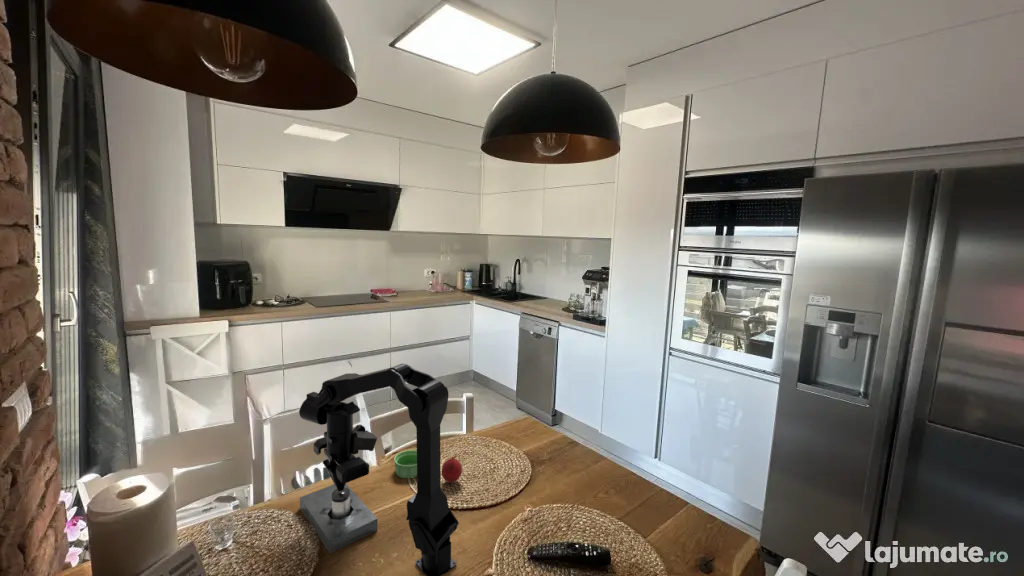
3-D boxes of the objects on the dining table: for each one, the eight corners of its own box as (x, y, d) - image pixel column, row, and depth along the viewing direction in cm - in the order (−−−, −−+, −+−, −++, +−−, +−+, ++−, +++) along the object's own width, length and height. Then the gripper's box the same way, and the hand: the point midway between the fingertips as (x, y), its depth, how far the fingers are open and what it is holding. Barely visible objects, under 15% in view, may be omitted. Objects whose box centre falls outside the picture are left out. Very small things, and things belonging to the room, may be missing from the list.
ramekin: (416, 460, 128) (416, 446, 127) (430, 473, 121) (430, 459, 120) (389, 469, 122) (389, 455, 121) (401, 483, 115) (401, 469, 115)
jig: (377, 530, 96) (377, 518, 96) (330, 553, 89) (329, 541, 88) (343, 490, 110) (343, 480, 110) (300, 508, 103) (299, 497, 102)
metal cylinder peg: (352, 523, 98) (352, 493, 97) (335, 531, 95) (335, 500, 94) (345, 515, 101) (345, 485, 100) (329, 522, 98) (329, 492, 97)
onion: (457, 490, 113) (458, 463, 112) (438, 487, 114) (438, 460, 113) (464, 478, 119) (464, 452, 118) (445, 475, 120) (446, 450, 119)
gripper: (390, 432, 94) (390, 494, 96) (356, 406, 108) (356, 462, 109) (342, 448, 87) (343, 515, 88) (312, 418, 100) (313, 477, 102)
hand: (340, 490), depth 97 cm, fingers closed
